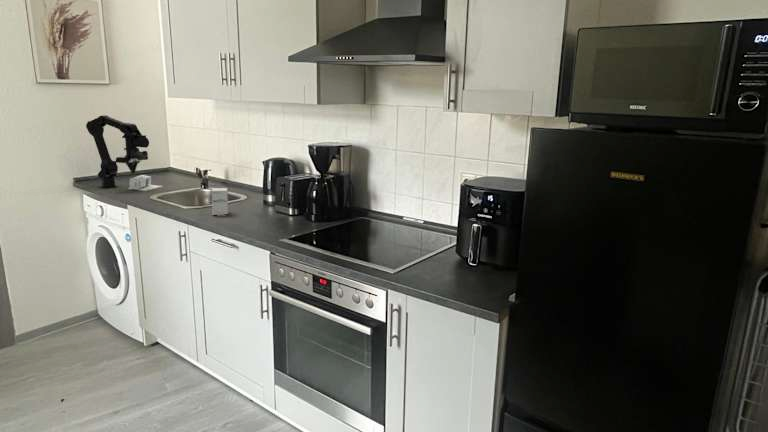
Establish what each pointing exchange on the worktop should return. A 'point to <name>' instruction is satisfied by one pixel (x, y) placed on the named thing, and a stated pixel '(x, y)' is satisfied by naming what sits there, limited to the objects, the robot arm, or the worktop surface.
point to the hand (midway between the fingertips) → (133, 173)
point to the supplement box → (219, 201)
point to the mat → (147, 188)
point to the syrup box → (140, 182)
